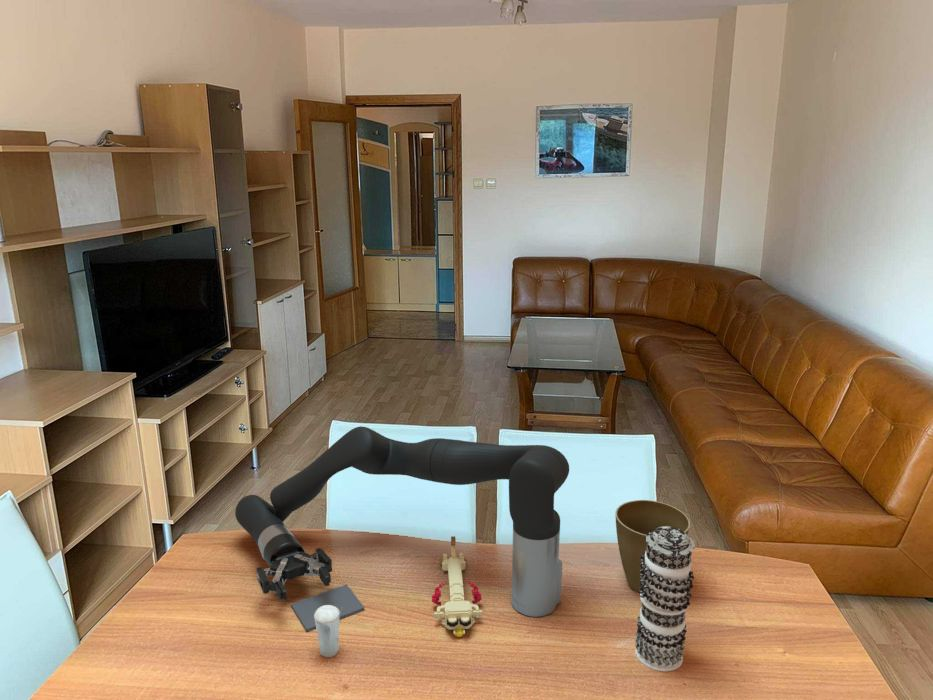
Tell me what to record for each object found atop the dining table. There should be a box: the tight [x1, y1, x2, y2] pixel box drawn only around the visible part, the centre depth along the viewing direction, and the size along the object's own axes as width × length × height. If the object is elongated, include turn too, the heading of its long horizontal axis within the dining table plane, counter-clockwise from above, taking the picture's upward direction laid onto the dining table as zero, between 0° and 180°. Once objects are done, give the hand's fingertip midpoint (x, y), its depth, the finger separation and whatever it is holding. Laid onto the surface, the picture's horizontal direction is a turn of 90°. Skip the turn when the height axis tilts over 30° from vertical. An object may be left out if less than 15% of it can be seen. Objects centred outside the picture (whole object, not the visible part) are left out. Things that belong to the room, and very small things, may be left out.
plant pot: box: [614, 499, 691, 593], centre depth 142 cm, size 15×15×16 cm
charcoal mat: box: [290, 584, 365, 633], centre depth 136 cm, size 12×9×1 cm
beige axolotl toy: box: [431, 535, 483, 638], centre depth 138 cm, size 10×9×25 cm
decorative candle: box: [635, 526, 696, 673], centre depth 120 cm, size 9×9×25 cm
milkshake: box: [314, 605, 343, 658], centre depth 123 cm, size 4×5×10 cm
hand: (307, 589), depth 132 cm, fingers open, 8 cm apart
